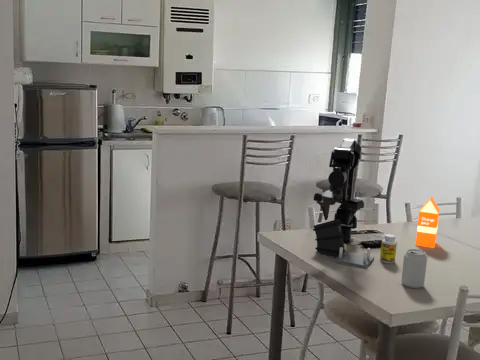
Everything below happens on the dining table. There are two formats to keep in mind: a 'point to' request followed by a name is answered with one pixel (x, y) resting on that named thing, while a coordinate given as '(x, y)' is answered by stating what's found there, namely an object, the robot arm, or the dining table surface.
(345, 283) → the dining table surface
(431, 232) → the orange juice
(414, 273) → the can
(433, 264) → the dining table surface
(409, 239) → the dining table surface
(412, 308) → the dining table surface
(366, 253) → the grey stand
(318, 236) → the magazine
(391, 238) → the supplement bottle
